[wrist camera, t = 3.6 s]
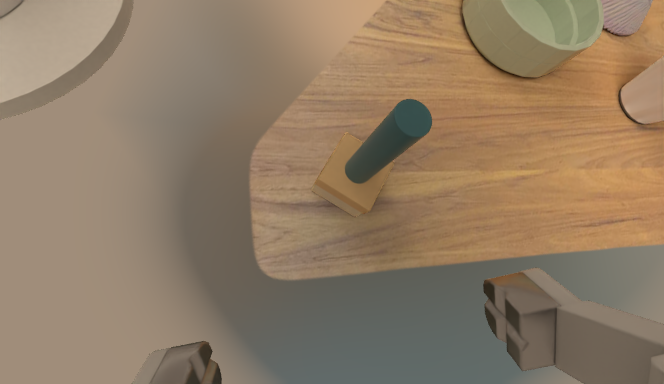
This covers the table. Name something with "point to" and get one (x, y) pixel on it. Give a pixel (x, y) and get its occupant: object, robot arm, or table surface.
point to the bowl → (532, 32)
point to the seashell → (624, 15)
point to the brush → (371, 158)
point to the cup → (645, 95)
